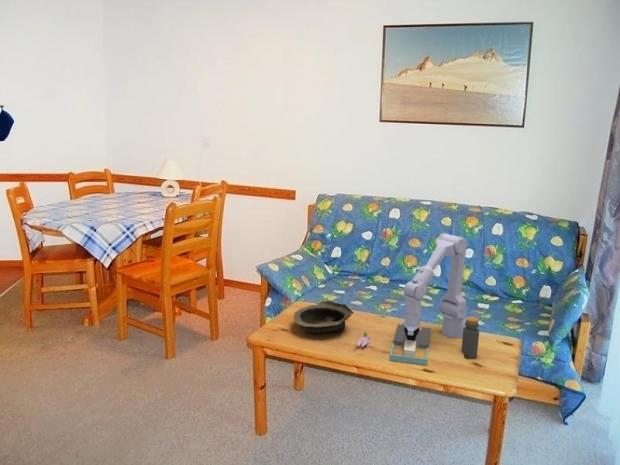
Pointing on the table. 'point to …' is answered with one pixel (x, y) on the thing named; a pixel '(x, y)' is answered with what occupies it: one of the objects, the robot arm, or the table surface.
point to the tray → (408, 358)
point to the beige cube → (409, 350)
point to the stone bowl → (323, 317)
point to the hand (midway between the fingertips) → (410, 345)
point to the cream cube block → (410, 342)
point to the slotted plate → (421, 339)
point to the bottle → (470, 338)
